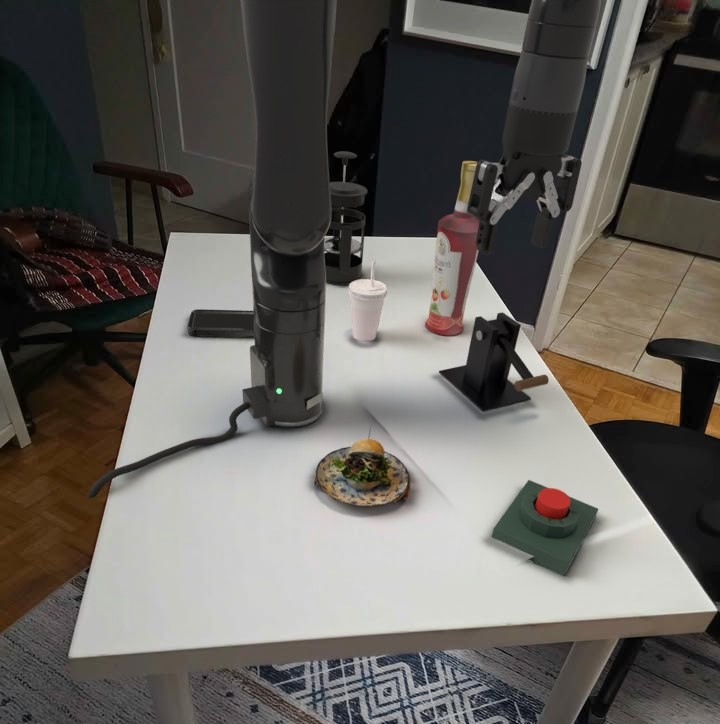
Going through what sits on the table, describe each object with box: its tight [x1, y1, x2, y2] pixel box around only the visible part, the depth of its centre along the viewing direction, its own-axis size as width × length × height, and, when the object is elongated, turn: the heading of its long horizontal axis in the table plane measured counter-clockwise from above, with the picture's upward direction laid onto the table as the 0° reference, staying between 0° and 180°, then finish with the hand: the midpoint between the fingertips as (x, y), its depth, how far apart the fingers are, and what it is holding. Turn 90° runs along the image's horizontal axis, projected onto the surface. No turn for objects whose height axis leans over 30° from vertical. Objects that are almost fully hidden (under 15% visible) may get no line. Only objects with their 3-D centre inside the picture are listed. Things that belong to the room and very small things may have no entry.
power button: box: [535, 487, 570, 520], centre depth 74 cm, size 4×4×2 cm
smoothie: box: [347, 259, 388, 342], centre depth 106 cm, size 6×6×14 cm
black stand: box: [438, 312, 532, 413], centre depth 97 cm, size 12×9×12 cm
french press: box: [324, 151, 368, 286], centre depth 124 cm, size 12×9×23 cm
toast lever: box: [487, 319, 550, 391], centre depth 93 cm, size 12×5×2 cm, turn 27°
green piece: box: [491, 479, 599, 577], centre depth 76 cm, size 11×9×4 cm
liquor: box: [424, 160, 480, 337], centre depth 107 cm, size 7×7×28 cm
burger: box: [313, 424, 412, 507], centre depth 79 cm, size 12×12×8 cm
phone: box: [187, 308, 254, 338], centre depth 111 cm, size 8×1×15 cm
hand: (511, 249), depth 81 cm, fingers open, 8 cm apart
